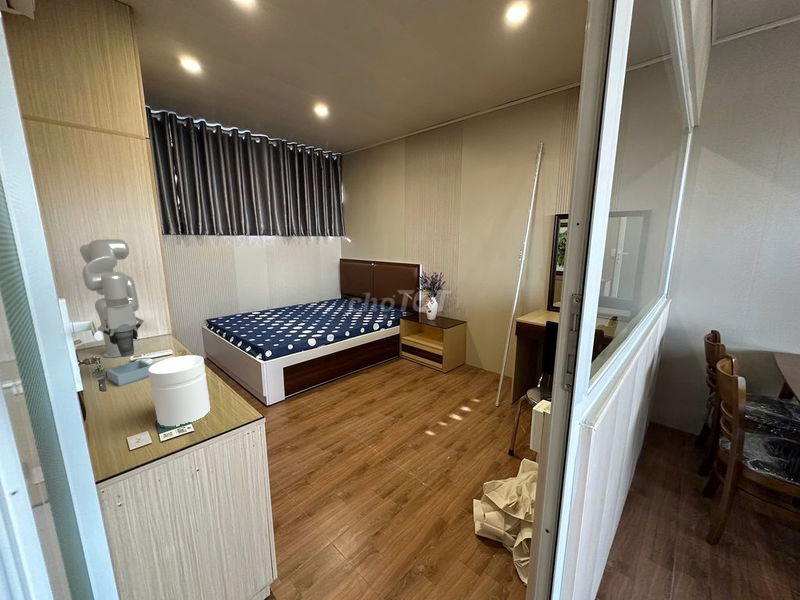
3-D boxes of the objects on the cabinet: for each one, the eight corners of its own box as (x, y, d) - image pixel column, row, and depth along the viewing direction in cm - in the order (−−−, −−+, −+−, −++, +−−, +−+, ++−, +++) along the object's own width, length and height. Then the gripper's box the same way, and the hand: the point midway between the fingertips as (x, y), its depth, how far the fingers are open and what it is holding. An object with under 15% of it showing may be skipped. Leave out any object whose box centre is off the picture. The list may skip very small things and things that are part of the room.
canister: (153, 416, 115) (143, 364, 111) (202, 399, 126) (195, 351, 122) (163, 434, 104) (153, 378, 100) (217, 414, 116) (209, 363, 112)
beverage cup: (128, 358, 140) (120, 314, 136) (112, 358, 140) (103, 314, 136) (142, 352, 147) (134, 310, 143) (126, 352, 147) (118, 310, 143)
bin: (108, 379, 144) (106, 369, 143) (142, 369, 155) (140, 359, 154) (119, 386, 137) (117, 376, 136) (154, 375, 148) (153, 365, 147)
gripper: (137, 298, 148) (144, 334, 151) (87, 305, 133) (96, 345, 137) (144, 299, 144) (151, 337, 148) (94, 307, 129) (102, 348, 133)
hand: (124, 341), depth 142 cm, fingers closed on beverage cup, 6 cm apart
